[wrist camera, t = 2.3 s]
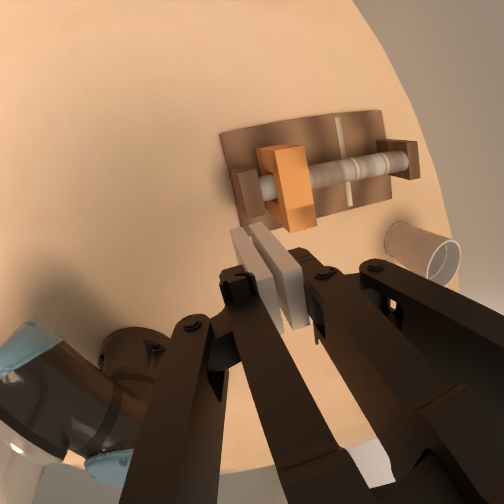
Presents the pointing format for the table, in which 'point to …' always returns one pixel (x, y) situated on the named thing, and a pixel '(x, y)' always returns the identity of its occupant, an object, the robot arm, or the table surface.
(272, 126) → the pipe stand
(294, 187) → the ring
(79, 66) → the table surface
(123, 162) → the table surface
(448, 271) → the cup
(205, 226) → the table surface
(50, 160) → the table surface
